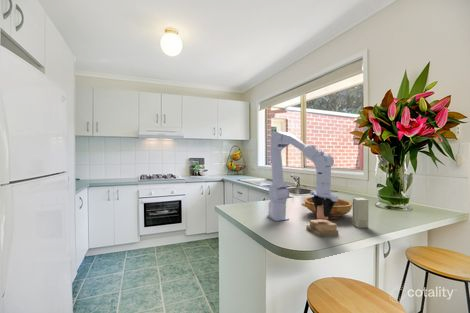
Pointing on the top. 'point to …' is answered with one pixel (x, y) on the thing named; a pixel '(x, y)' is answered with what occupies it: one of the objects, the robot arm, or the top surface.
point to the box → (360, 212)
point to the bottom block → (321, 234)
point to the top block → (323, 225)
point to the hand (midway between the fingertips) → (322, 214)
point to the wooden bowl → (337, 209)
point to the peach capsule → (321, 213)
